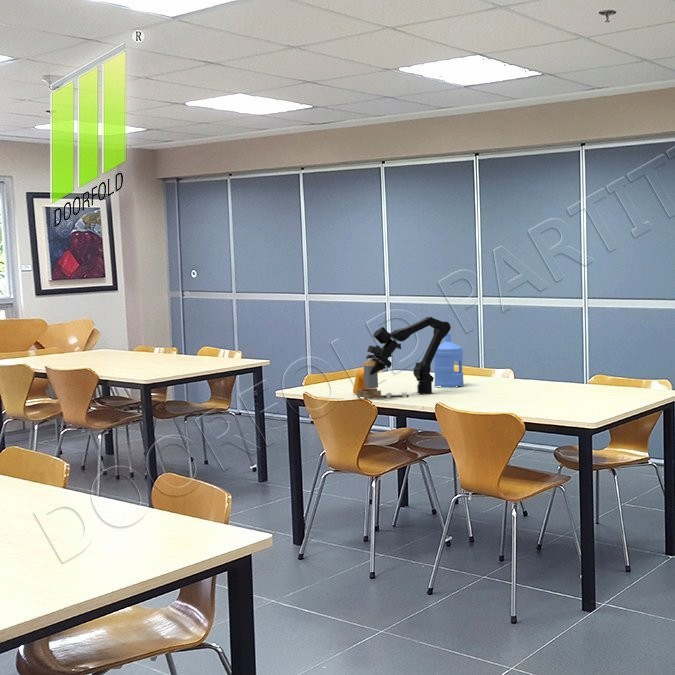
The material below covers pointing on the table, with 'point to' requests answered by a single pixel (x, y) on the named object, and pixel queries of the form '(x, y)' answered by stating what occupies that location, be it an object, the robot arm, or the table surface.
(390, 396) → the cable clips
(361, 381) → the orange rounded lump
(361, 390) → the end cradle
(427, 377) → the robot arm
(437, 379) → the water jug
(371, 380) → the grey tall block
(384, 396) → the cable run
